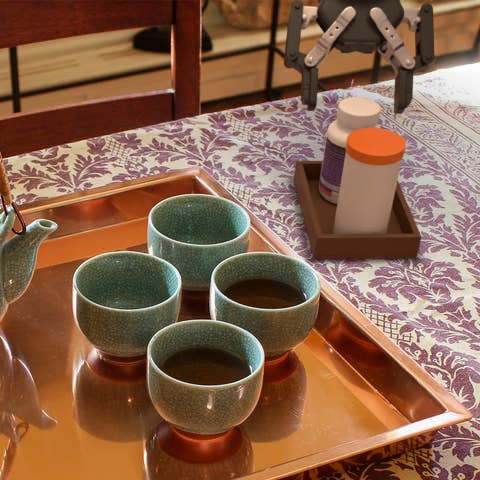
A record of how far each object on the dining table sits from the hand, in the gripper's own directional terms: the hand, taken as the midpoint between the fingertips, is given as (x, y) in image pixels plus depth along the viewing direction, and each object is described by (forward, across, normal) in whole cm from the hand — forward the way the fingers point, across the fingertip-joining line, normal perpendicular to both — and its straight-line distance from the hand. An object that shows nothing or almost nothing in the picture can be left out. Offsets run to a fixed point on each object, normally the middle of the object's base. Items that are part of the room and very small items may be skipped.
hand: (355, 110), depth 92 cm
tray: (+10, 0, +2) cm, 10 cm away
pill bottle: (+7, 0, +5) cm, 9 cm away
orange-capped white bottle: (+12, +1, 0) cm, 12 cm away
